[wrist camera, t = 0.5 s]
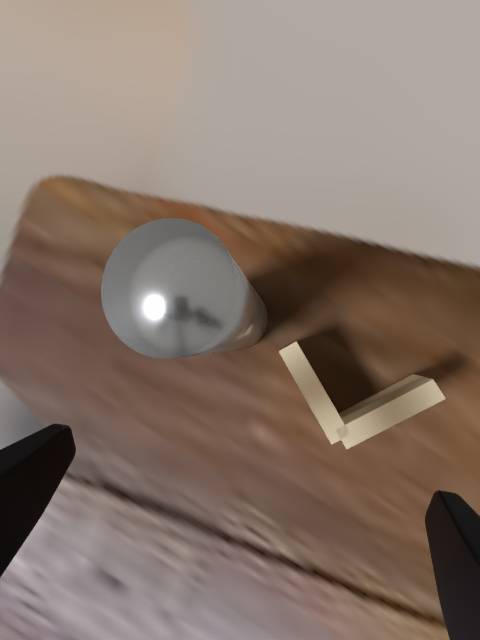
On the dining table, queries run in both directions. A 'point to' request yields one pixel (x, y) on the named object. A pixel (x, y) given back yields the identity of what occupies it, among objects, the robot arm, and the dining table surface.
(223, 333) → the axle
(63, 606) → the dining table surface
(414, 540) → the dining table surface
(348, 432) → the v block
